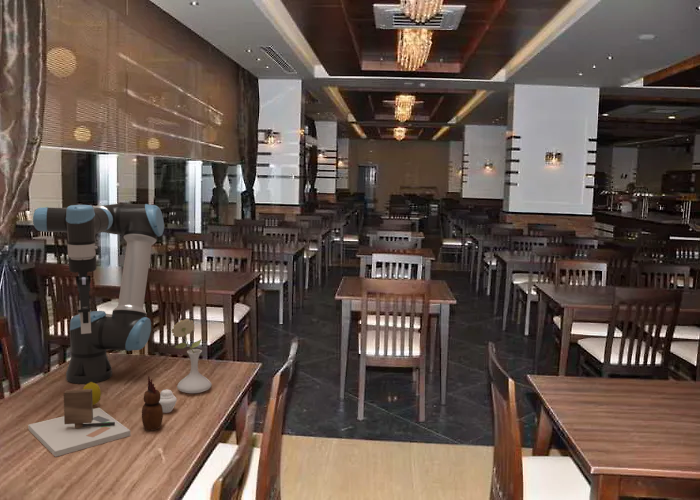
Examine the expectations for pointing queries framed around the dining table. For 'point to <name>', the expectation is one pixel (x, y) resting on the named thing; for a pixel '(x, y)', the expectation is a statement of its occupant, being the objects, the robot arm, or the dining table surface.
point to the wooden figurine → (152, 408)
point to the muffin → (167, 400)
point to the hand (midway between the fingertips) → (85, 326)
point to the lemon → (94, 391)
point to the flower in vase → (194, 379)
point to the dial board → (77, 433)
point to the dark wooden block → (80, 408)
